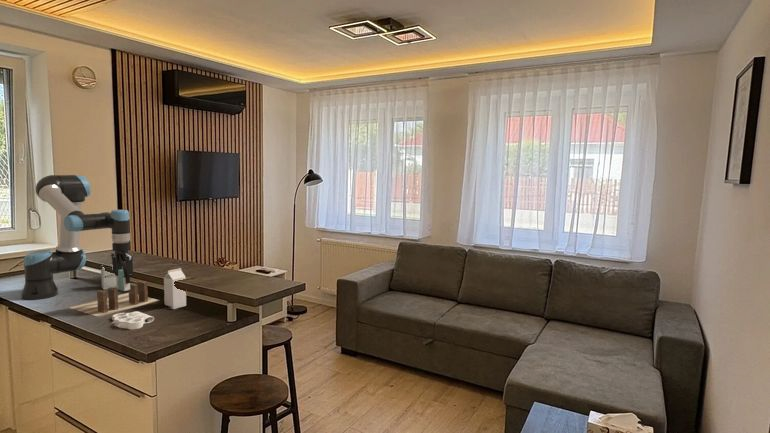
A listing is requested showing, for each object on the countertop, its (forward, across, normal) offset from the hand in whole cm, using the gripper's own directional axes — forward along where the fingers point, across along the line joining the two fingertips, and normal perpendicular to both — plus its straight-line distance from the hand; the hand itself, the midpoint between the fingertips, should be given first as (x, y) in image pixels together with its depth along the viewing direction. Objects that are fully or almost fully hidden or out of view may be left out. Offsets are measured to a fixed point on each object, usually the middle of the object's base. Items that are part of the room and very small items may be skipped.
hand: (123, 289), depth 214 cm
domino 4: (+9, 0, +5) cm, 10 cm away
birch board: (+10, -7, 0) cm, 12 cm away
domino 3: (+1, 0, 0) cm, 1 cm away
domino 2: (+9, 0, -5) cm, 10 cm away
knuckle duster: (+11, +22, -10) cm, 26 cm away
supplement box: (+10, -42, +18) cm, 47 cm away
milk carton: (+10, +18, +15) cm, 25 cm away
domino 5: (+9, 0, +10) cm, 13 cm away
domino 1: (+9, 0, -10) cm, 13 cm away
